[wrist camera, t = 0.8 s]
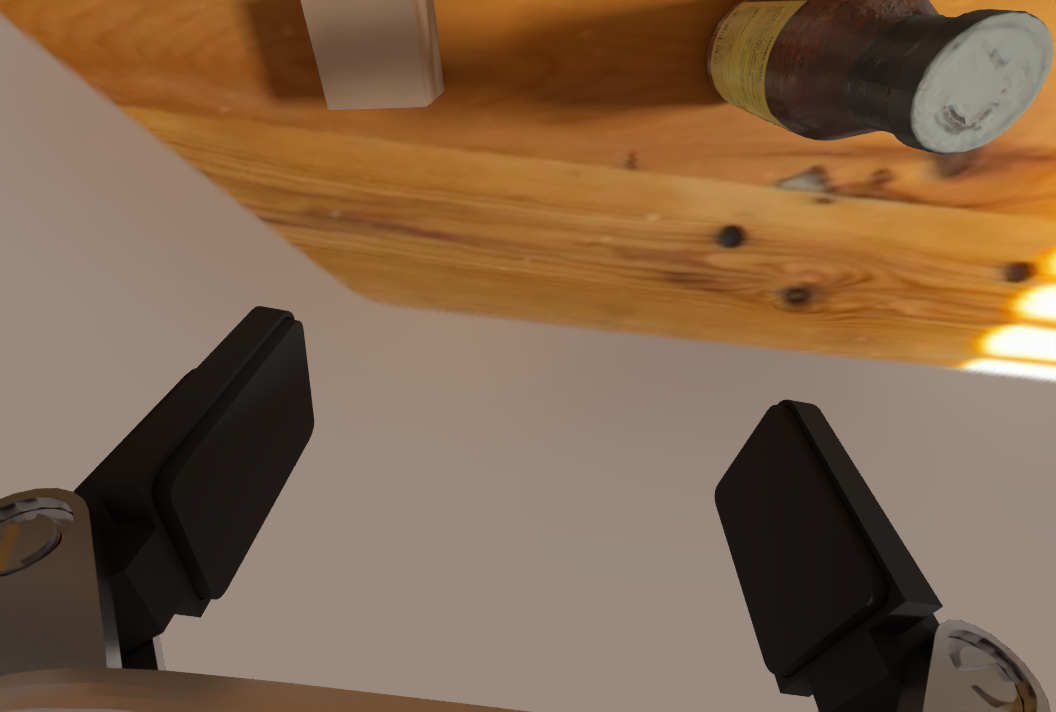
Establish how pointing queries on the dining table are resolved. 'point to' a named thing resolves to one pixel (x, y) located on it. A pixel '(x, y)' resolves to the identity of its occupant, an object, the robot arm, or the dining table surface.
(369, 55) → the grey cube
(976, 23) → the sauce bottle
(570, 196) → the dining table surface
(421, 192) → the dining table surface
